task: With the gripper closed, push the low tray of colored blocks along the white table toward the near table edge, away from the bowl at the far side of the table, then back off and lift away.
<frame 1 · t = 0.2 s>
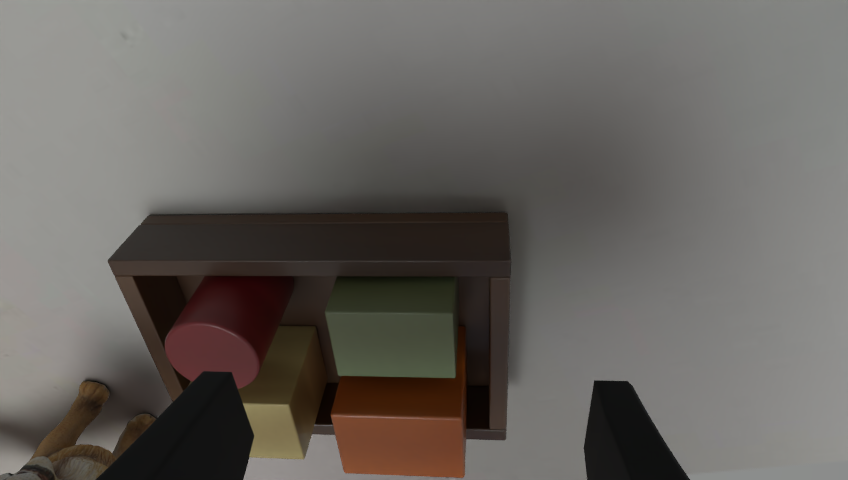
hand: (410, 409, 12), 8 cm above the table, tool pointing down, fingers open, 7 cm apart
lion figurine: (73, 410, 26), on the table
tray of colored blocks: (339, 306, 21), on the table
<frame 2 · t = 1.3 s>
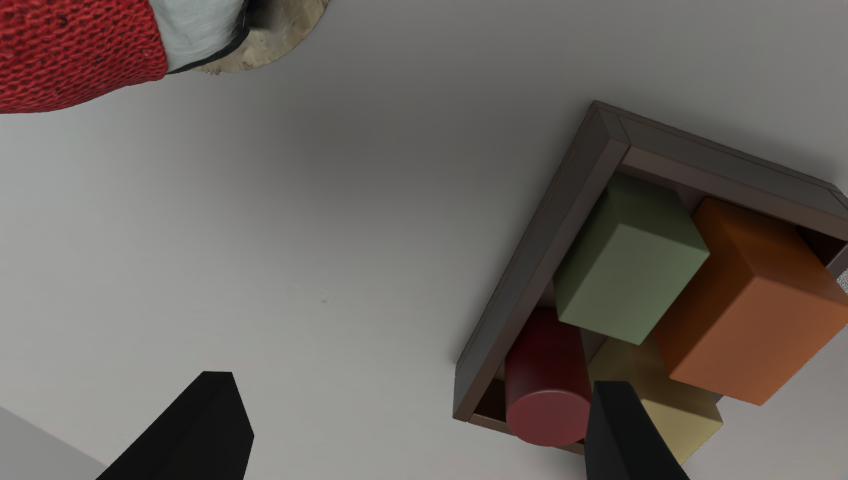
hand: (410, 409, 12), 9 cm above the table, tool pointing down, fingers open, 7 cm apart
tray of colored blocks: (617, 288, 21), on the table
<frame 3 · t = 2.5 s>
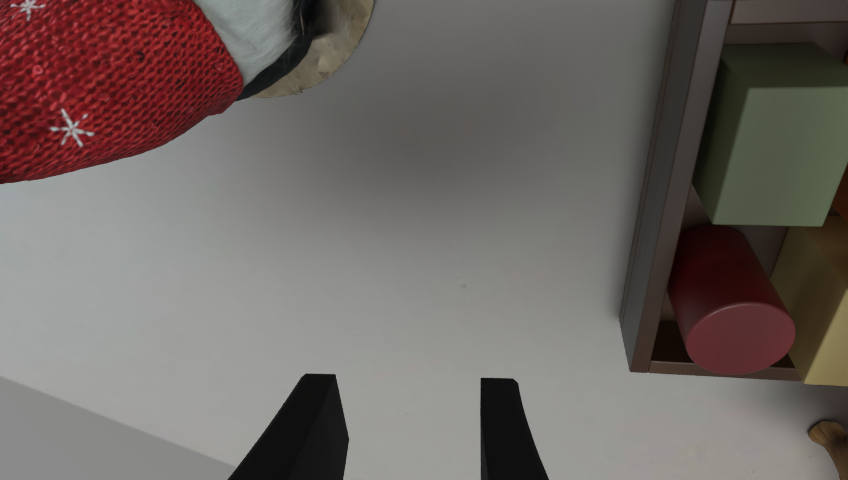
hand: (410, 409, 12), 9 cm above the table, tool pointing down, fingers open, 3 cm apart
tray of colored blocks: (778, 181, 18), on the table
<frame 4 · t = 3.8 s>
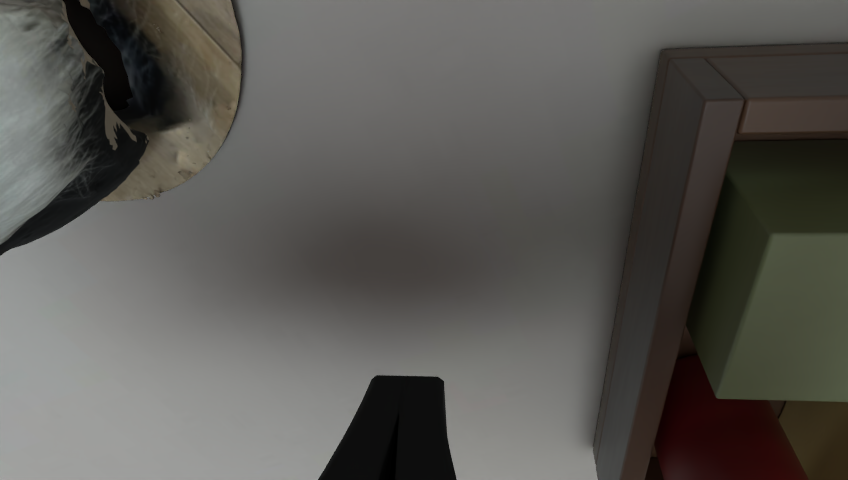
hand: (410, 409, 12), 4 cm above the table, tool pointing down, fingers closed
tray of colored blocks: (792, 298, 14), on the table
figurine: (43, 15, 12), on the table
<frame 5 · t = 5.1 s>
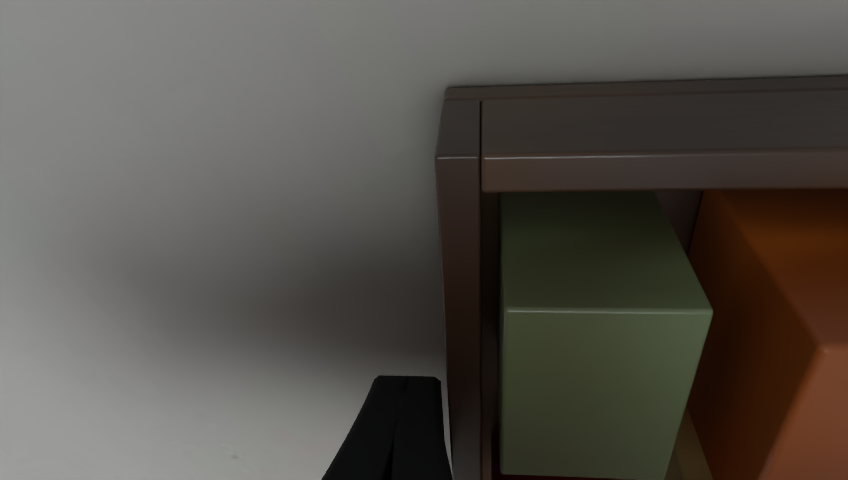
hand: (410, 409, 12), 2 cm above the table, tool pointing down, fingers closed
tray of colored blocks: (637, 347, 13), on the table, touching gripper
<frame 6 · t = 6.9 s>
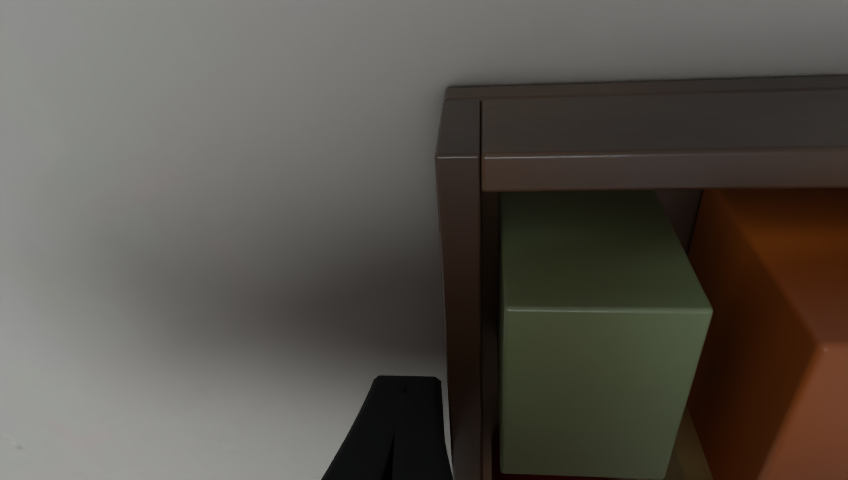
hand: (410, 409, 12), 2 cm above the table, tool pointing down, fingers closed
tray of colored blocks: (637, 346, 13), on the table, touching gripper
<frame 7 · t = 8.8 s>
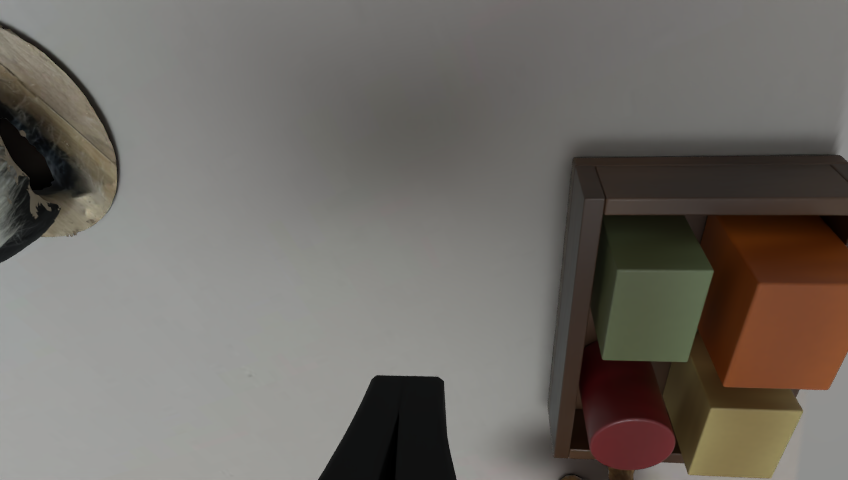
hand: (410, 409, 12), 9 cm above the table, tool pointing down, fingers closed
tray of colored blocks: (668, 302, 21), on the table
figurine: (2, 133, 20), on the table
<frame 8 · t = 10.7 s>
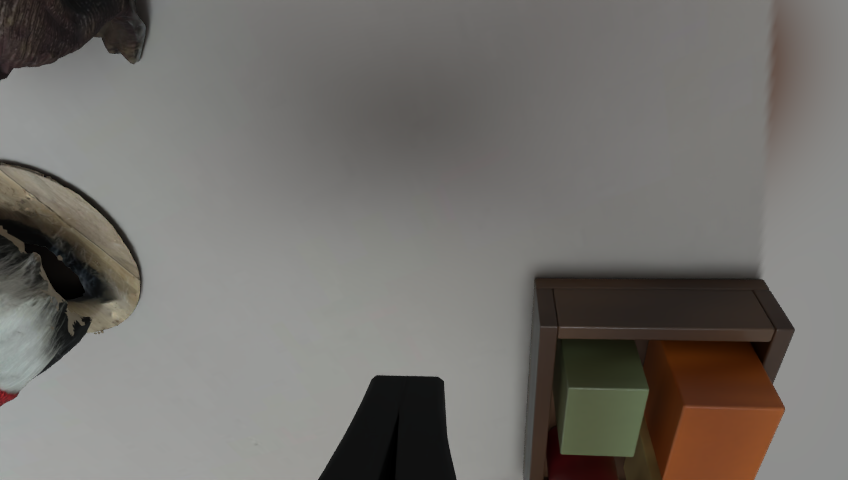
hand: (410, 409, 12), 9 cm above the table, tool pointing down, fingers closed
tray of colored blocks: (624, 390, 24), on the table
figurine: (40, 251, 23), on the table
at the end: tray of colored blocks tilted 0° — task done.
